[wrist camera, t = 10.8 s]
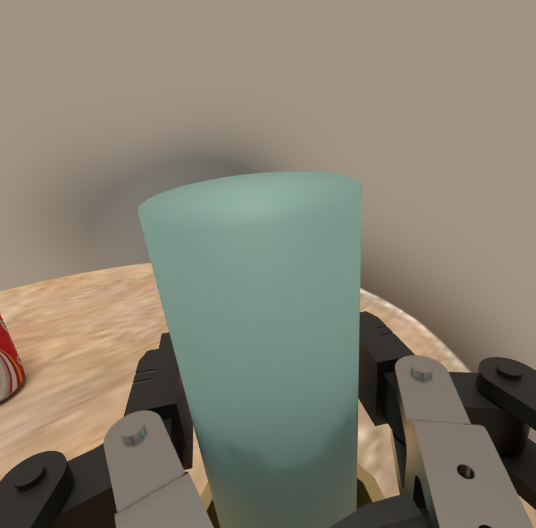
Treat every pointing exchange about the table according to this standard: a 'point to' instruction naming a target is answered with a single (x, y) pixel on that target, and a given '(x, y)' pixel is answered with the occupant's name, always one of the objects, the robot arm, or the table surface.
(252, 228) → the rail post
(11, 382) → the soda can
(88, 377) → the table surface
